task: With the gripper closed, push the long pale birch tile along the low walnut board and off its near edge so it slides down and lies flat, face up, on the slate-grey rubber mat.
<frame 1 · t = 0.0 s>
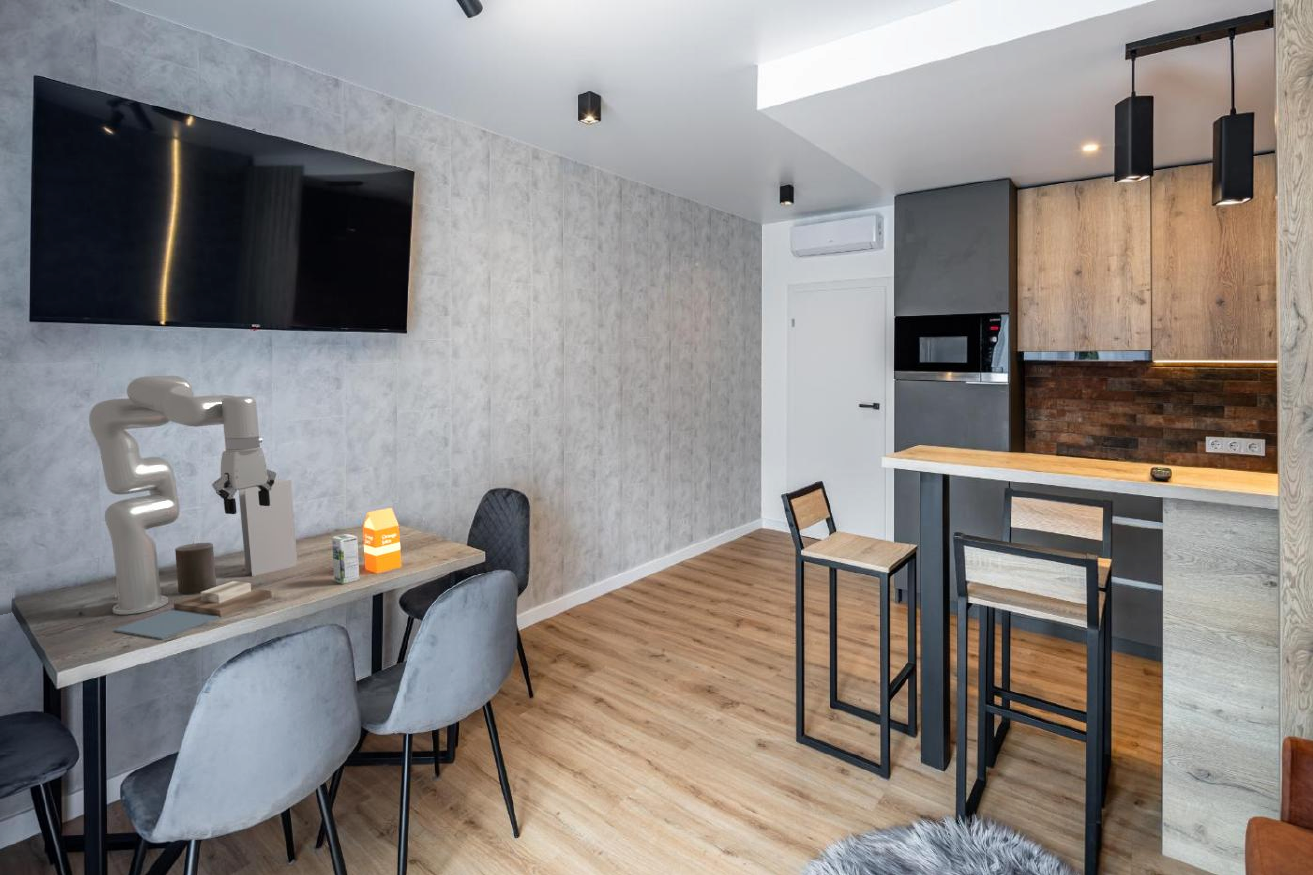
hand: (248, 509, 171), 31 cm above the table, tool pointing down, fingers open, 9 cm apart
pillar candle: (198, 589, 204), on the table
syrup box: (347, 581, 210), on the table
mat: (167, 624, 176), on the table
orange juice: (383, 568, 222), on the table
tall grey block: (272, 570, 223), on the table
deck: (224, 603, 191), on the table
tile: (226, 595, 191), point 2 cm above the table, touching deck
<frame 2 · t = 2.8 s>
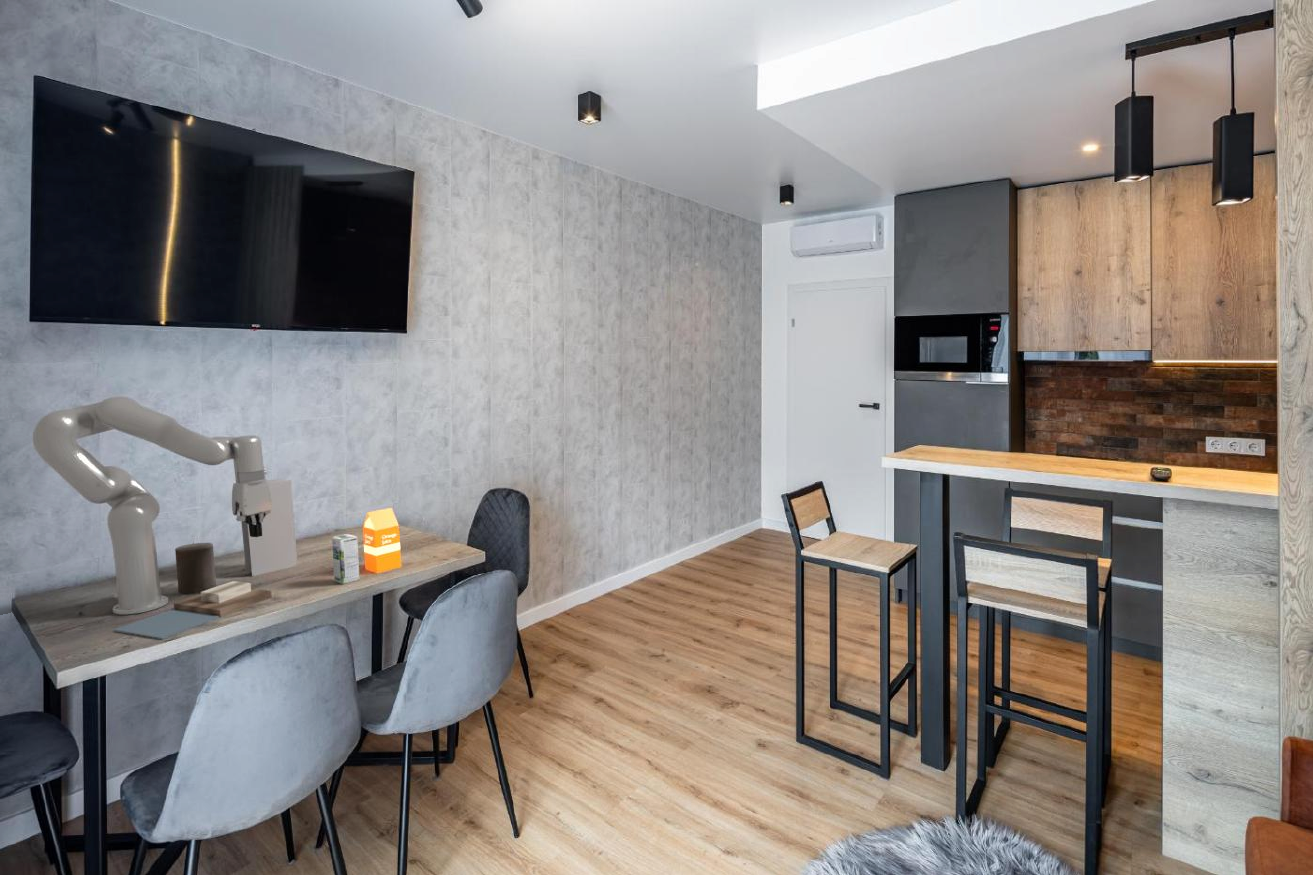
hand: (256, 536, 200), 17 cm above the table, tool pointing down, fingers closed
nothing on the table moved.
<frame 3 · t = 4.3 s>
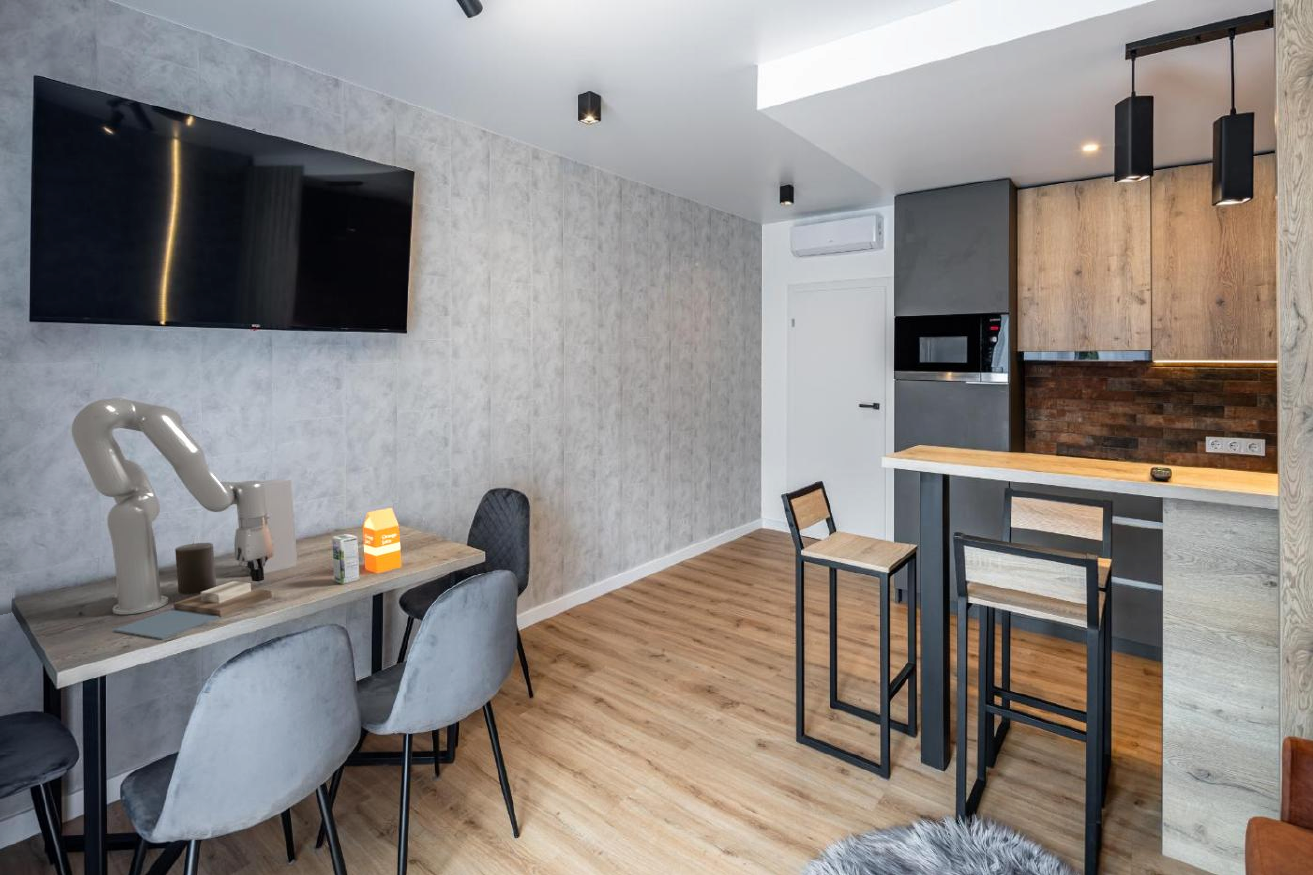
hand: (257, 580, 201), 3 cm above the table, tool pointing down, fingers closed
nothing on the table moved.
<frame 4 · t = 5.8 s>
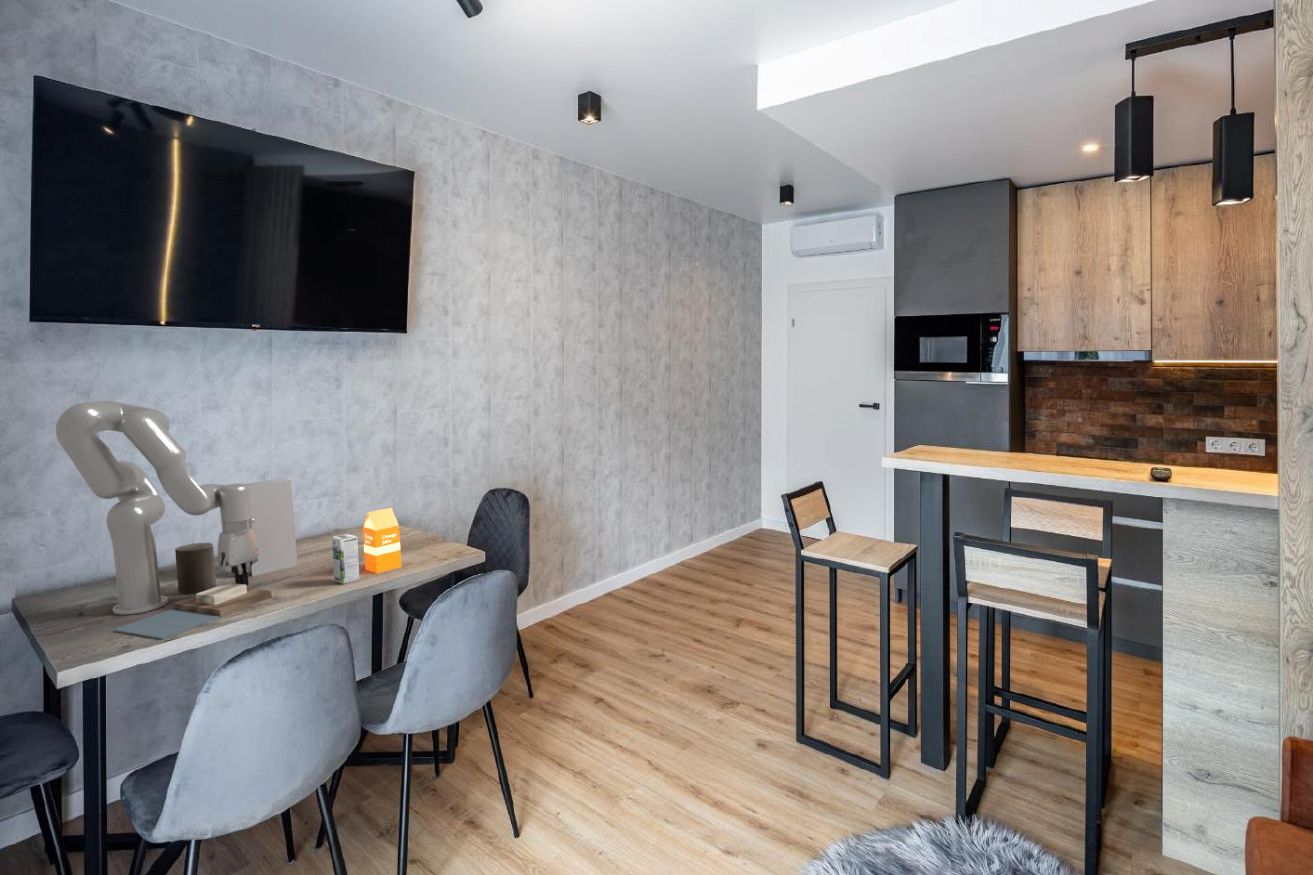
hand: (242, 585, 196), 3 cm above the table, tool pointing down, fingers closed
tile: (222, 597, 190), point 2 cm above the table, touching gripper
everything else where it was.
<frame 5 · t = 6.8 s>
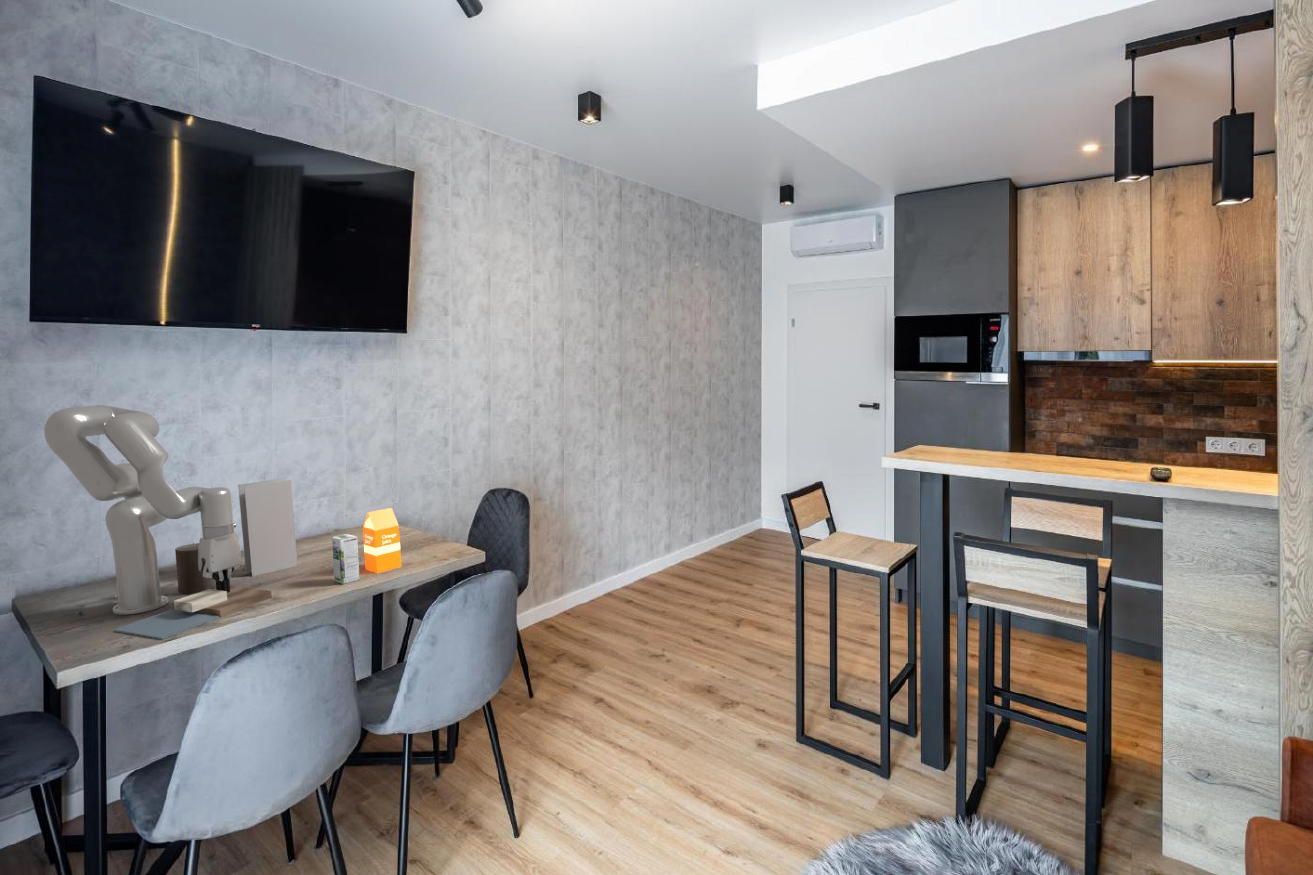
hand: (223, 592, 191), 3 cm above the table, tool pointing down, fingers closed
tile: (201, 604, 184), point 2 cm above the table, touching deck, gripper
everything else where it was.
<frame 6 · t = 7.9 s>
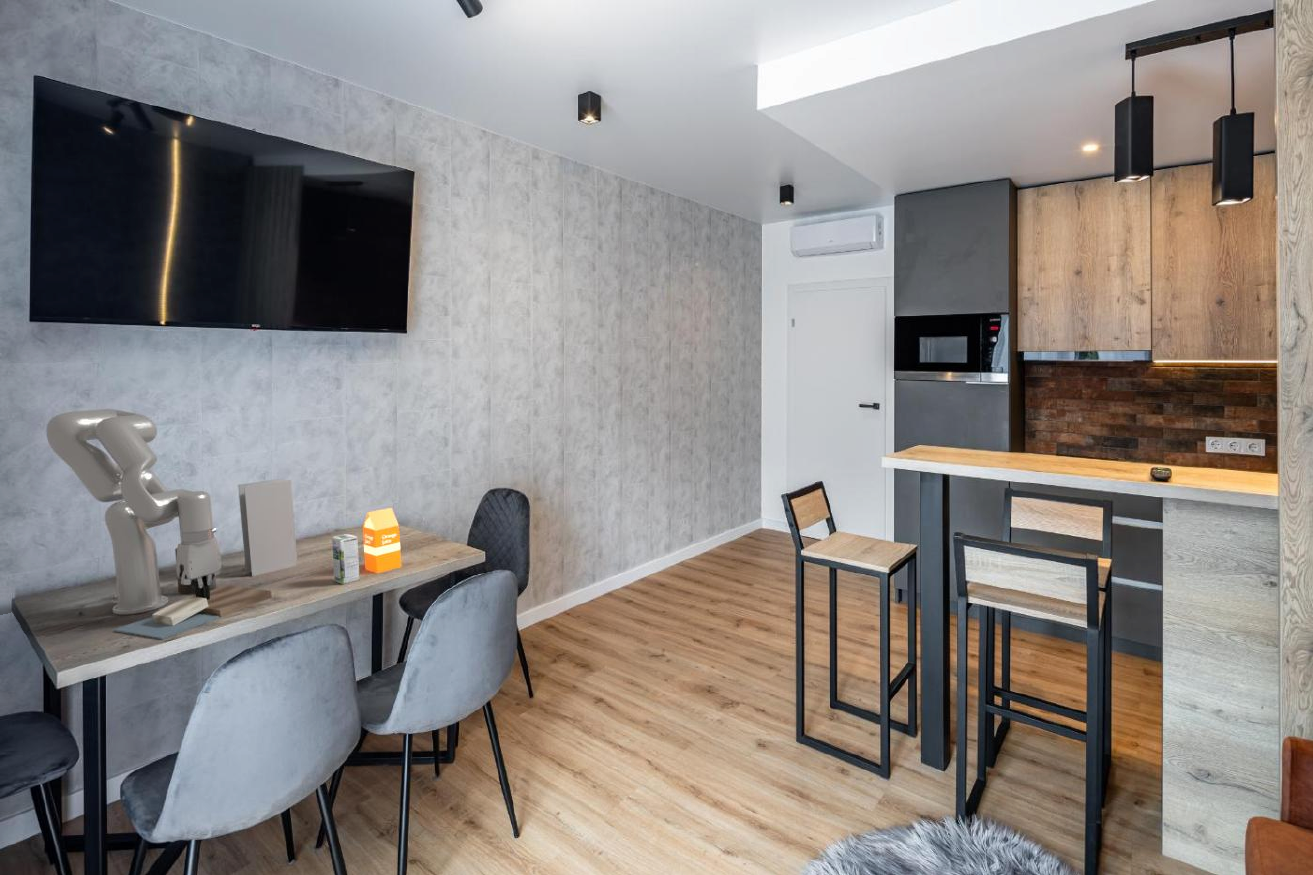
hand: (203, 599, 185), 3 cm above the table, tool pointing down, fingers closed
tile: (182, 614, 179), point 1 cm above the table, tilted 10°, touching gripper, mat
everything else where it was.
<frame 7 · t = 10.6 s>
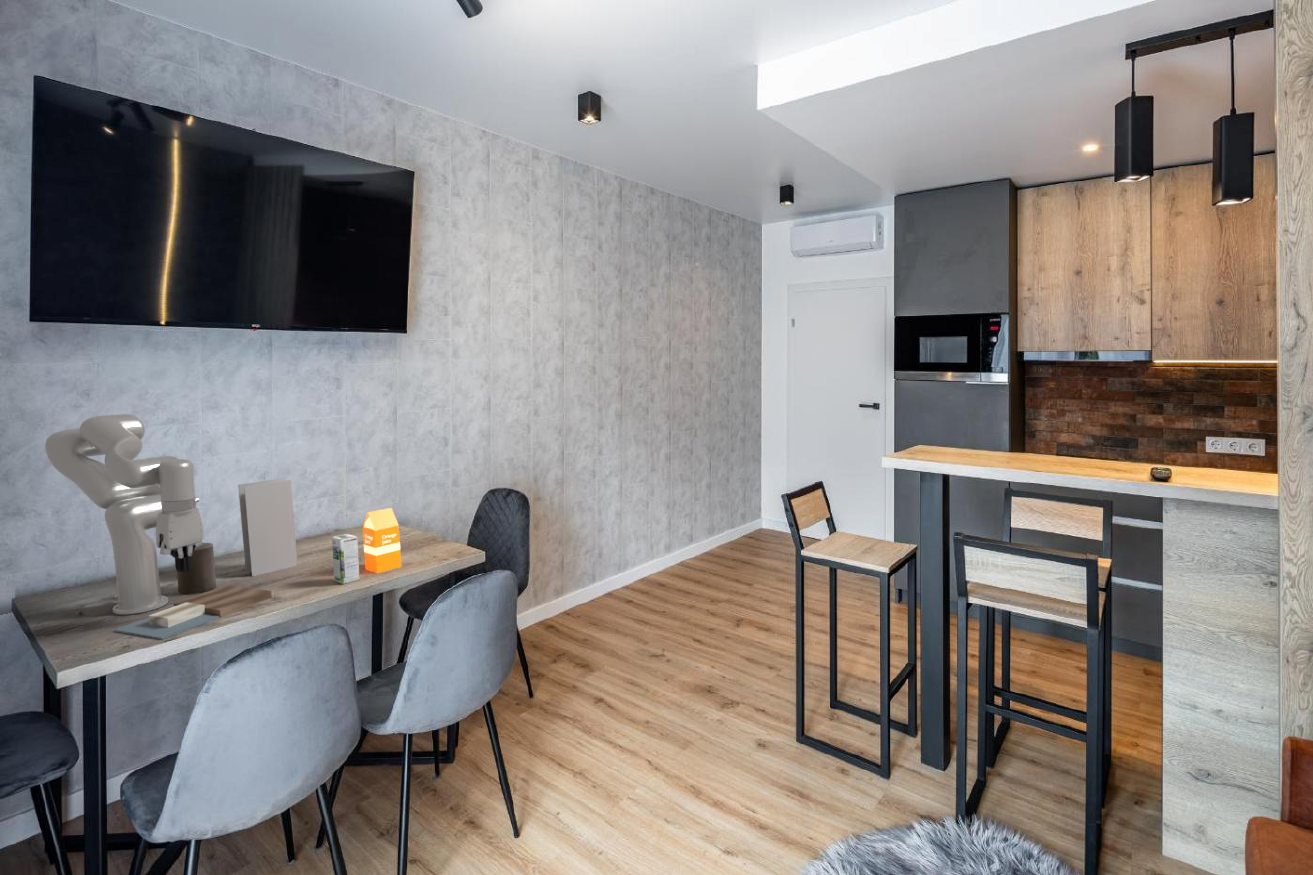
hand: (183, 570, 180), 13 cm above the table, tool pointing down, fingers closed
tile: (178, 618, 178), resting on mat
everything else where it was.
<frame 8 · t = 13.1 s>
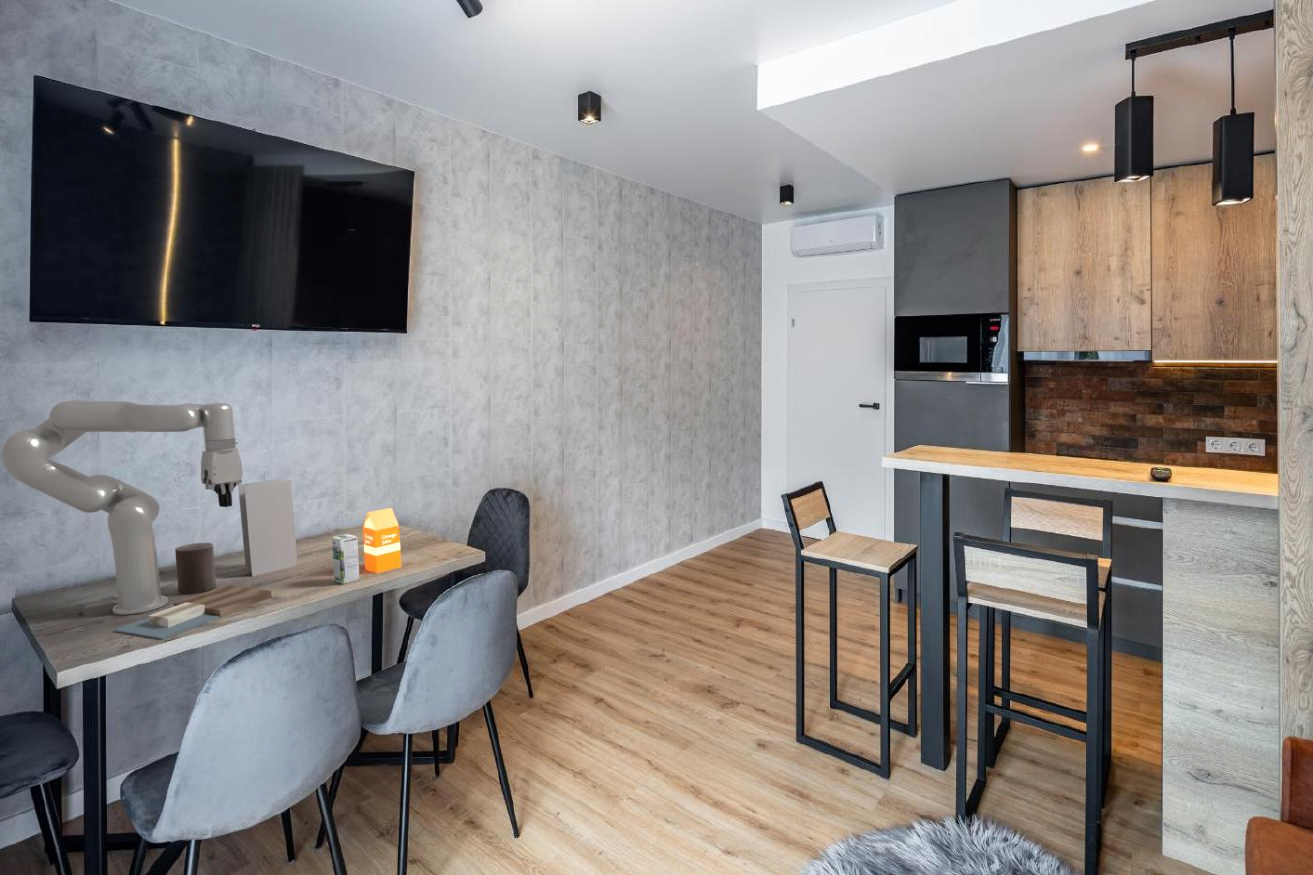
hand: (225, 506, 196), 27 cm above the table, tool pointing down, fingers closed
nothing on the table moved.
at the end: tile inside the target area on the mat (2.8 cm from its centre), point 0.5 cm above the mat's base; tile tilted 0°; tile touching mat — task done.
